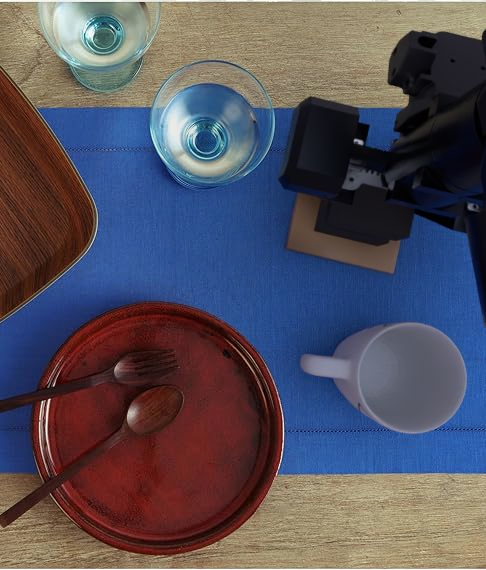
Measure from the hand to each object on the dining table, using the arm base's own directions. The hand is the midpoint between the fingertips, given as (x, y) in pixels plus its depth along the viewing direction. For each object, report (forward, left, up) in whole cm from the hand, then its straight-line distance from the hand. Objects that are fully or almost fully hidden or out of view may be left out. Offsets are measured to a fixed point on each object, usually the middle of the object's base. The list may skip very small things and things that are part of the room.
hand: (374, 195), depth 51 cm
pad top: (0, 0, -1) cm, 1 cm away
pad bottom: (0, 0, -5) cm, 5 cm away
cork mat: (0, 0, -6) cm, 6 cm away
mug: (+14, +3, -6) cm, 16 cm away
